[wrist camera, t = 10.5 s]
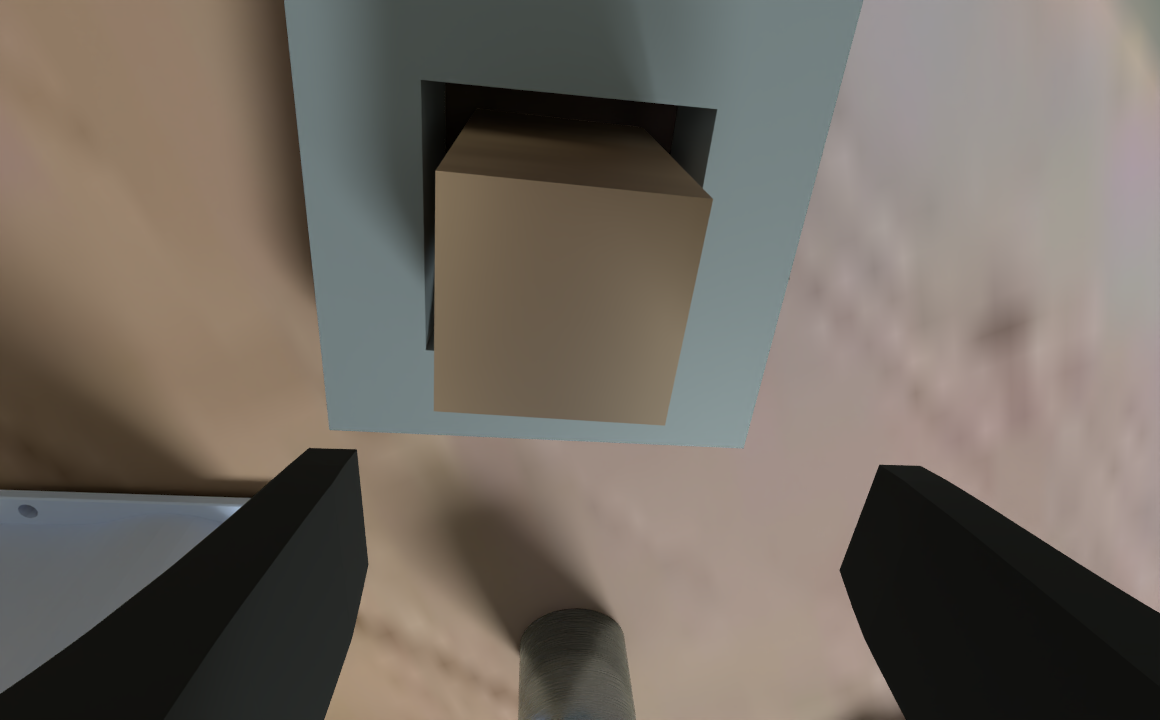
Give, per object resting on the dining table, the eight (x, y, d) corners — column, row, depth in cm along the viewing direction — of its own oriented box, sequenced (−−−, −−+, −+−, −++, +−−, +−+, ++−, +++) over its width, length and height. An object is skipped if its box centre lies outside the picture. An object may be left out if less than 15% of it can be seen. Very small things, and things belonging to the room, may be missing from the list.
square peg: (471, 267, 17) (433, 410, 11) (476, 108, 15) (435, 170, 9) (618, 280, 17) (664, 425, 11) (642, 126, 15) (713, 198, 9)
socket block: (365, 359, 18) (329, 430, 15) (335, -63, 13) (275, -88, 10) (709, 378, 19) (743, 448, 16) (795, -8, 14) (867, -15, 11)
